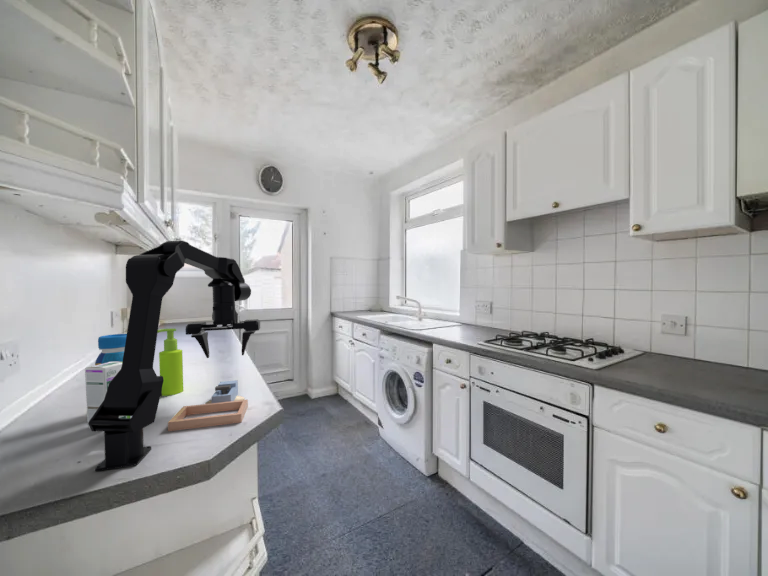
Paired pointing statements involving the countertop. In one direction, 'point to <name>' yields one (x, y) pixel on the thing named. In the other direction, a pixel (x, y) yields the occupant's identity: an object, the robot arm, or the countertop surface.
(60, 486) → the countertop surface
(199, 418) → the tray
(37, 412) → the countertop surface
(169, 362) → the soap dispenser
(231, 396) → the blue open frame block
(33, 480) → the countertop surface
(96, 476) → the countertop surface
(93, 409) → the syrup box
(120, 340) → the blue lidded jar
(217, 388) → the pot lid
